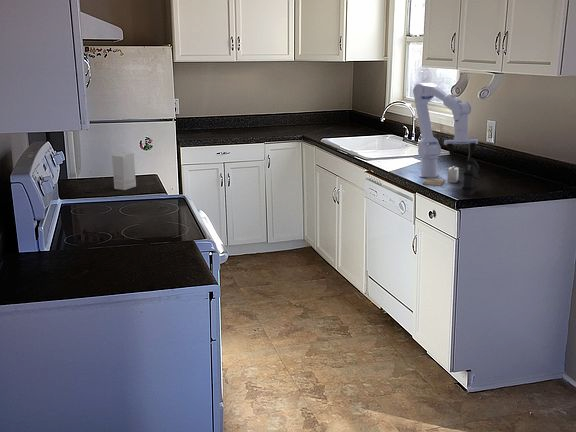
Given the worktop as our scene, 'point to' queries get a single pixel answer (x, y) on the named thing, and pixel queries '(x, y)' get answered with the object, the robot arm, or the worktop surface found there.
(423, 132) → the robot arm
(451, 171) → the housing
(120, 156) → the skincare box
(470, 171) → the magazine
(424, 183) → the stand
